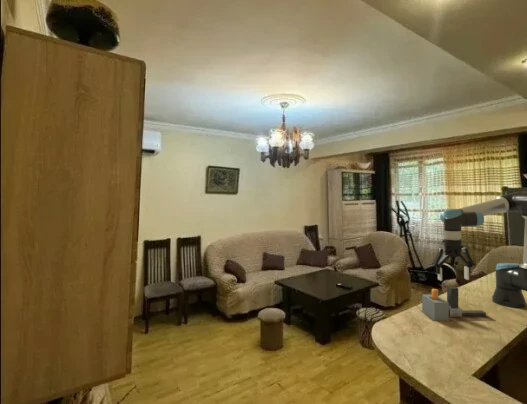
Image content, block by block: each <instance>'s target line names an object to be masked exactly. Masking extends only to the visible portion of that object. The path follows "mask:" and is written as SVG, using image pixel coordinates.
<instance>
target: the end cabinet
mask: <svg viewBox="0 0 527 404" xmlns="http://www.w3.org/2000/svg"><path fill="white" fill-rule="evenodd" d="M421 298H422V299H421V300H422V301H421V306H422V307H421V308H422V309H421V311H423V312H424V313H426V314H427V315H428V316H429V317H431V318H432V319H433V320H449V302H447V300H445V299H444V298H442V297H440V296H439V295H438V300H432V293H431V294H426V293H425V294H424V293H423V294H421ZM429 317H428V318H429Z"/></svg>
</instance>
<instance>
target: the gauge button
mask: <svg viewBox="0 0 527 404" xmlns="http://www.w3.org/2000/svg"><path fill="white" fill-rule="evenodd" d="M431 294H432V300H438V296H439V289H437V288H431Z"/></svg>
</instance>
